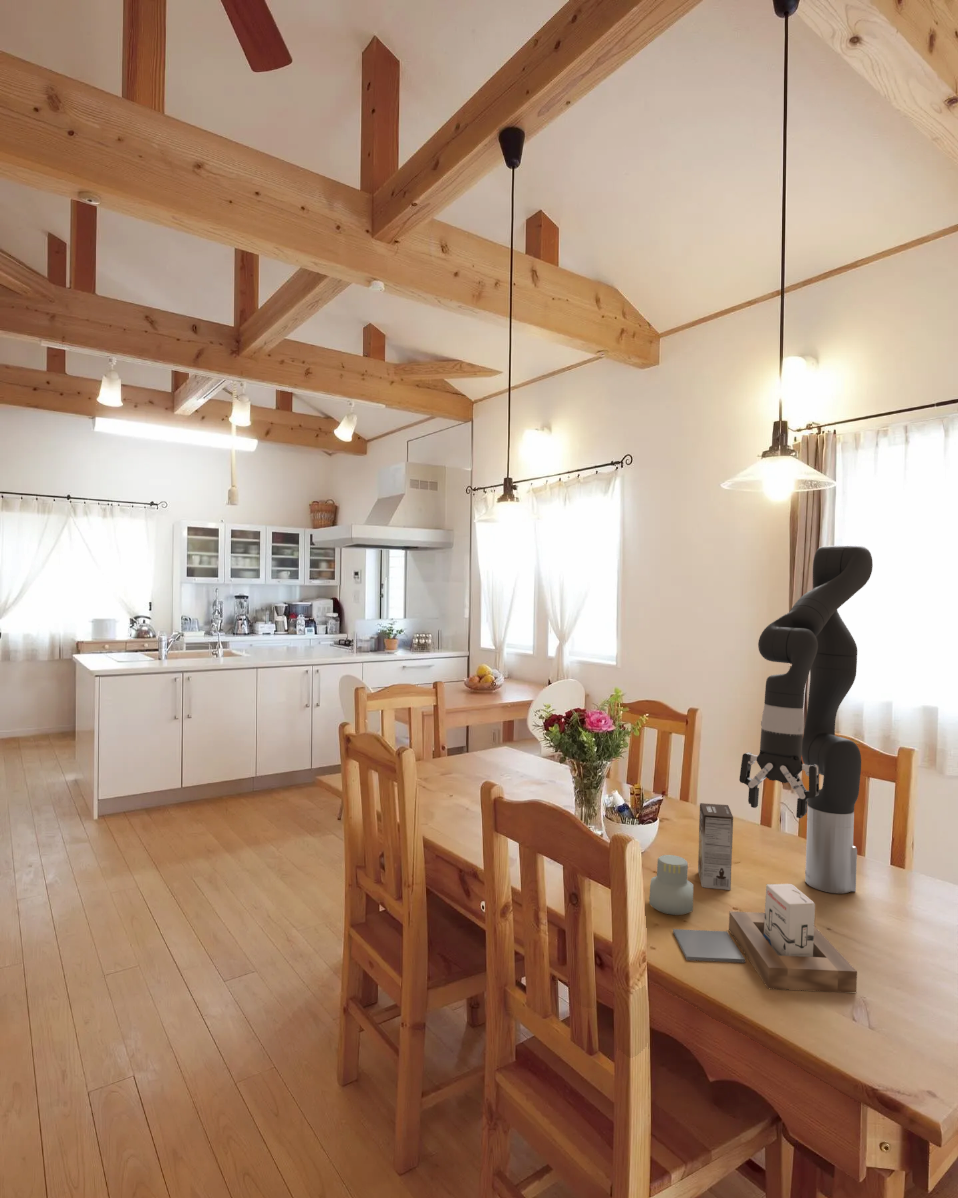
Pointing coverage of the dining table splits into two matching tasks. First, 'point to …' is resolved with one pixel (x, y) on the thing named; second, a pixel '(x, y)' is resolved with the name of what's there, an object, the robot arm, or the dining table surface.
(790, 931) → the ink box
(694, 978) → the dining table surface
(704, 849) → the coffee box
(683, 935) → the coaster
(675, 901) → the air freshener
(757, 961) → the pocket
